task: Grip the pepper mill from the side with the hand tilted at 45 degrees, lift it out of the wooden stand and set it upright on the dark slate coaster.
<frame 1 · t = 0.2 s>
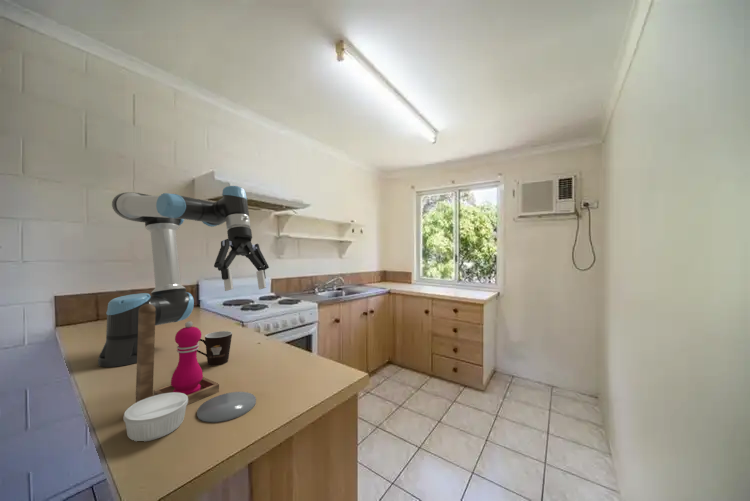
hand: (247, 289, 90), 27 cm above the counter, tool tilted 15°, fingers open, 13 cm apart
ramekin: (156, 429, 59), on the counter
pepper mill: (186, 395, 74), resting in wooden stand
wooden stand: (186, 394, 74), on the counter
coffee mug: (214, 362, 97), on the counter
slate coaster: (227, 406, 68), on the counter
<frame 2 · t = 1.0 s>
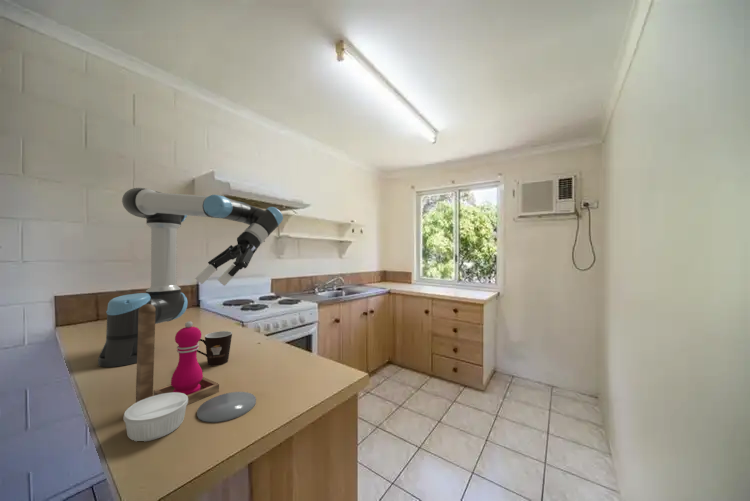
hand: (209, 282, 87), 30 cm above the counter, tool tilted 45°, fingers open, 13 cm apart
nothing on the counter moved.
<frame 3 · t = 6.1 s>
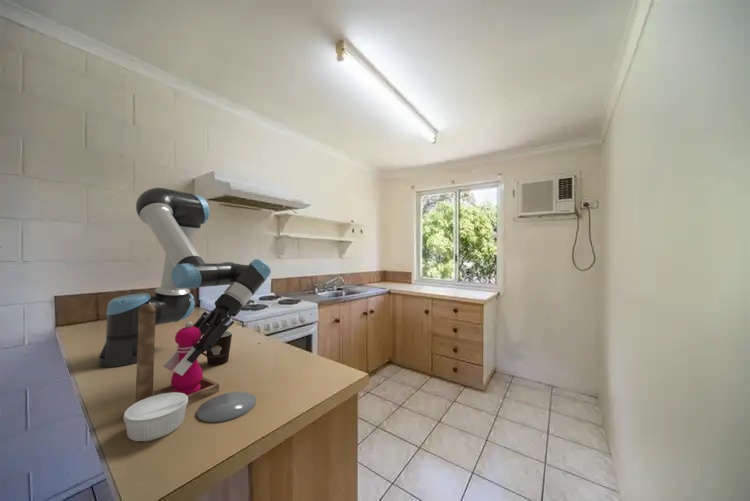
hand: (172, 370, 71), 8 cm above the counter, tool tilted 45°, fingers closed on pepper mill, 5 cm apart
pepper mill: (186, 395, 74), resting in wooden stand, touching gripper
everything else where it was.
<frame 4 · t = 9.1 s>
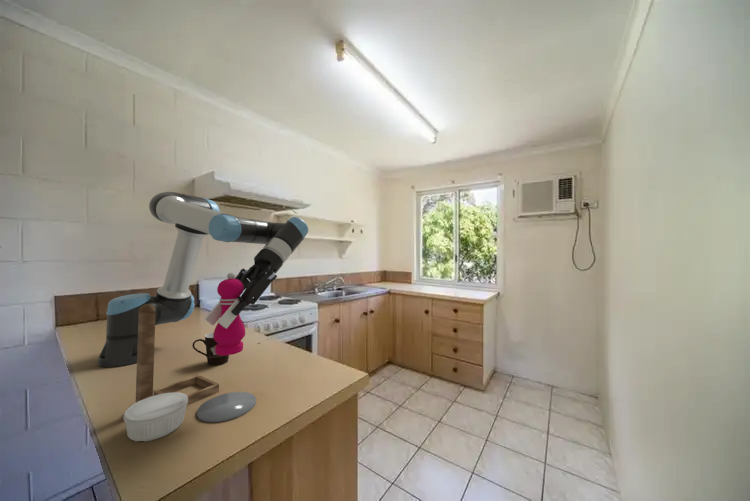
hand: (215, 323, 66), 22 cm above the counter, tool tilted 45°, fingers closed on pepper mill, 5 cm apart
pepper mill: (229, 352, 69), point 14 cm above the counter, touching gripper
everything else where it was.
when the fingers open (8 cm above the counter, at t = 12.3 s): pepper mill stays where it is, resting on slate coaster.
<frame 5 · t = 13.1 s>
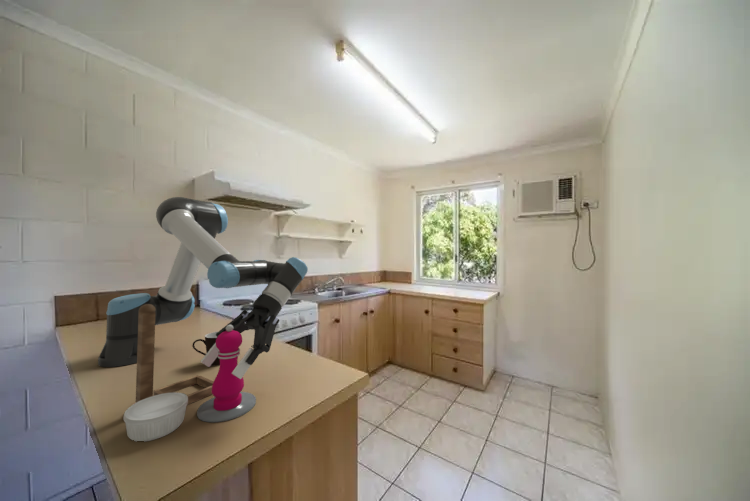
hand: (219, 370, 66), 10 cm above the counter, tool tilted 45°, fingers open, 13 cm apart
pepper mill: (227, 405, 68), resting on slate coaster
everything else where it was.
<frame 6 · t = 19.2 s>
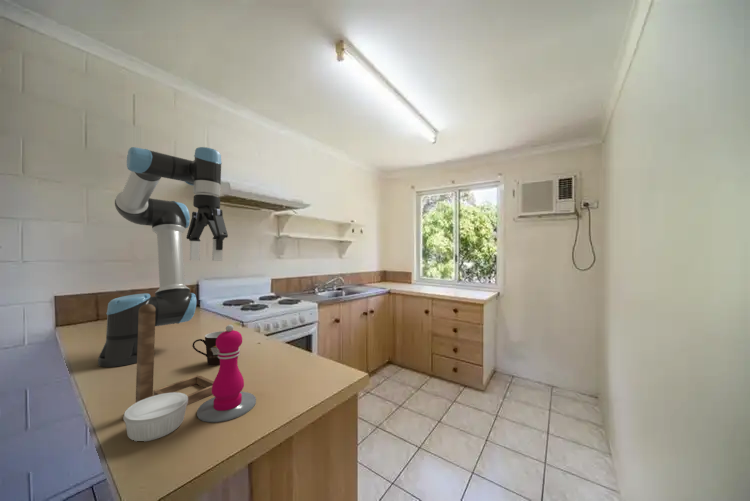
hand: (205, 260, 89), 37 cm above the counter, tool pointing down, fingers open, 13 cm apart
nothing on the counter moved.
at the end: pepper mill inside the target area on the slate coaster (0.1 cm from its centre), point 0.4 cm above the slate coaster's base; pepper mill tilted 0°; the gripper is holding nothing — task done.
